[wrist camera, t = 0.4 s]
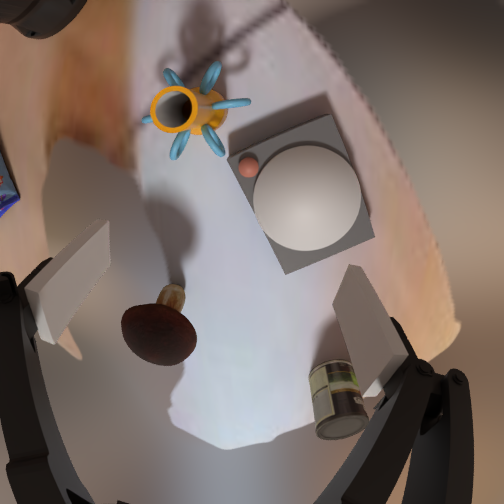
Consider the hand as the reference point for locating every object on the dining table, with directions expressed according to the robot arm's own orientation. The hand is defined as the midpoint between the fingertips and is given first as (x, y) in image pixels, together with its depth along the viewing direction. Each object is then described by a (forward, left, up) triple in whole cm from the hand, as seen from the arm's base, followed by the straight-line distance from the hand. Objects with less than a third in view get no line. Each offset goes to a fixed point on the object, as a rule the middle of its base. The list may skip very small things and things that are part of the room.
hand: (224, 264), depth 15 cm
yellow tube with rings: (-10, -1, -25) cm, 27 cm away
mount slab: (+6, +6, -25) cm, 27 cm away
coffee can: (+45, -2, -25) cm, 52 cm away
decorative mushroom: (+12, -19, -25) cm, 34 cm away
